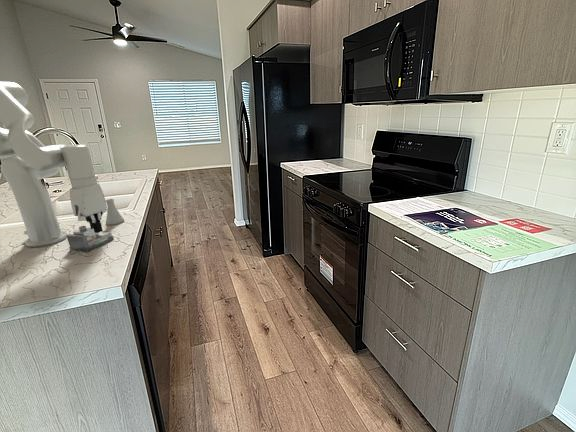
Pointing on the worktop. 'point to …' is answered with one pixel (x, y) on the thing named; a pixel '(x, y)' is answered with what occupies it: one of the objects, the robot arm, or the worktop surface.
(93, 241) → the base
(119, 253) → the worktop surface
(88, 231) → the knobbed grey cube
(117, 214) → the flask
